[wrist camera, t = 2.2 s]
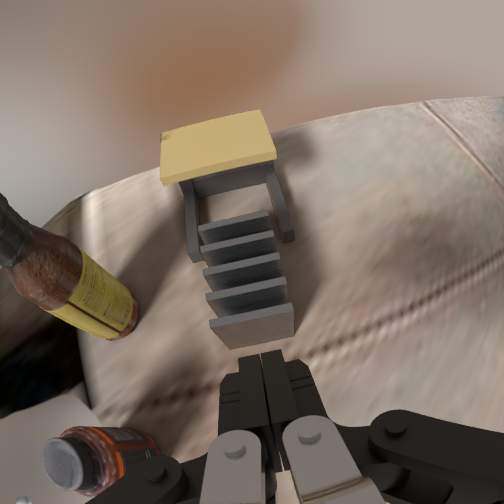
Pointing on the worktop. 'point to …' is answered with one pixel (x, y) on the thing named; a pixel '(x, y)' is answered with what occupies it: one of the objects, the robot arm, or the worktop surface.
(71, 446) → the supplement bottle
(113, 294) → the sauce bottle
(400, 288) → the worktop surface
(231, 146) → the grey and yellow stand
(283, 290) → the heatsink block
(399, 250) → the worktop surface
